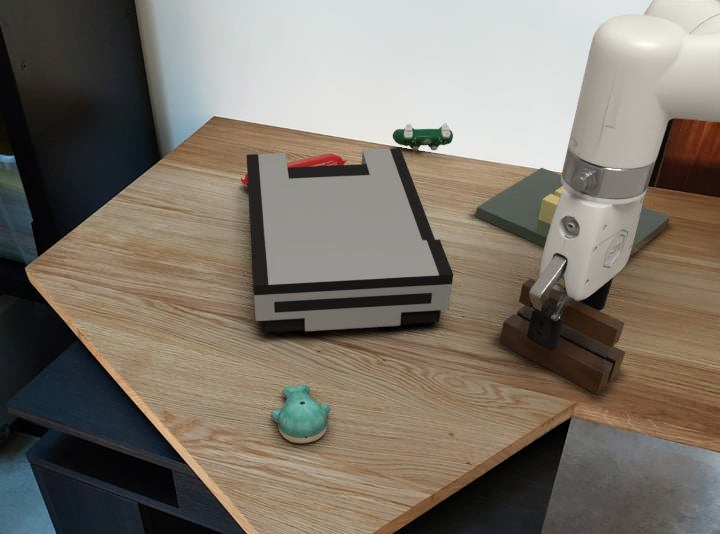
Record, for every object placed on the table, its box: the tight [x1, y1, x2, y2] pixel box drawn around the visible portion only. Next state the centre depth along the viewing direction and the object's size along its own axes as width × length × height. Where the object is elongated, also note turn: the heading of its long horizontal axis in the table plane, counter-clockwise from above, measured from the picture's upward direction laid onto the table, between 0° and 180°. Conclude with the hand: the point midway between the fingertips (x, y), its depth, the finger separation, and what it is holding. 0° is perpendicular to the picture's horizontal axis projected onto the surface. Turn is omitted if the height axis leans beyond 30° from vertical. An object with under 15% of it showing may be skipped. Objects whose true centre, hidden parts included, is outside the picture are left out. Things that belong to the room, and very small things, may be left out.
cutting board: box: [475, 167, 671, 258], centre depth 104 cm, size 20×16×2 cm
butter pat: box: [538, 194, 560, 225], centre depth 101 cm, size 4×2×3 cm, turn 46°
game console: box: [245, 147, 454, 335], centre depth 95 cm, size 21×32×8 cm, turn 6°
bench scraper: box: [518, 278, 625, 360], centre depth 81 cm, size 11×2×7 cm, turn 46°
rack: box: [498, 305, 626, 395], centre depth 83 cm, size 12×5×3 cm, turn 46°
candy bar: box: [240, 153, 348, 186], centre depth 112 cm, size 16×4×3 cm, turn 118°
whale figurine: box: [270, 384, 331, 444], centre depth 75 cm, size 6×7×4 cm
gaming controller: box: [392, 122, 454, 152], centre depth 120 cm, size 9×4×6 cm
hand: (565, 323), depth 81 cm, fingers open, 8 cm apart
